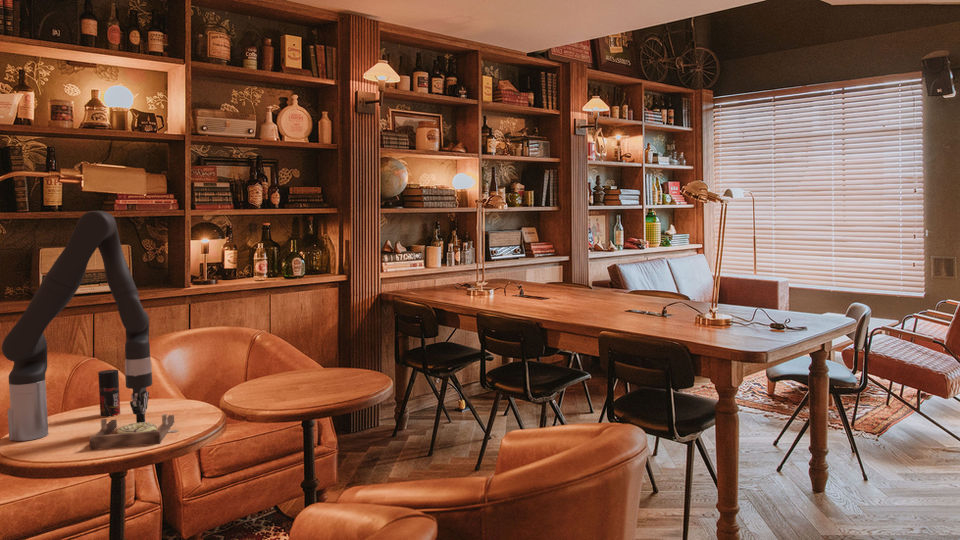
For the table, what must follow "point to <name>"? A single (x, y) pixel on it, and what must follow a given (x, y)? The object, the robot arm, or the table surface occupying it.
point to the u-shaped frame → (129, 435)
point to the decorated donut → (137, 428)
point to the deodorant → (109, 392)
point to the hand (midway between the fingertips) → (141, 425)
